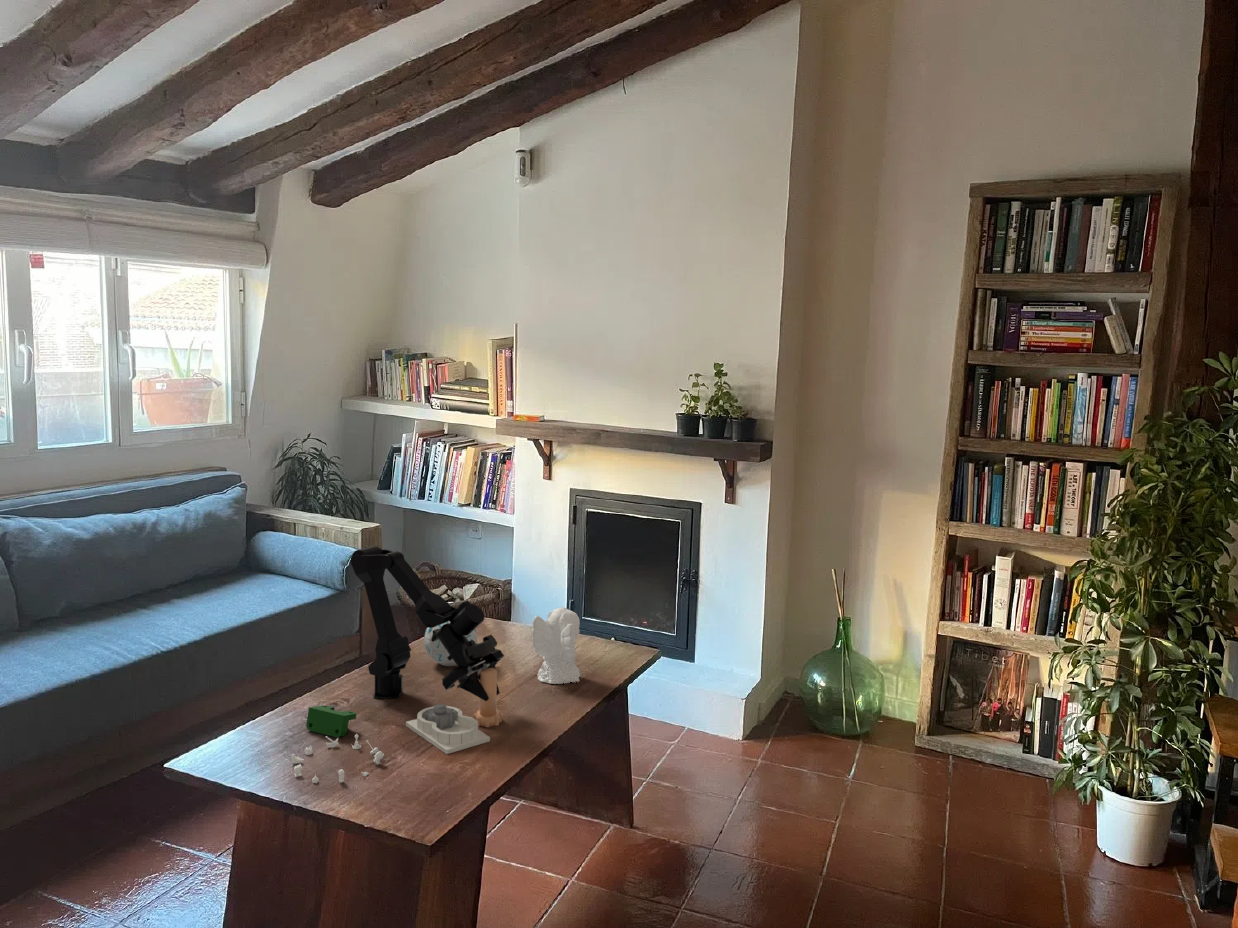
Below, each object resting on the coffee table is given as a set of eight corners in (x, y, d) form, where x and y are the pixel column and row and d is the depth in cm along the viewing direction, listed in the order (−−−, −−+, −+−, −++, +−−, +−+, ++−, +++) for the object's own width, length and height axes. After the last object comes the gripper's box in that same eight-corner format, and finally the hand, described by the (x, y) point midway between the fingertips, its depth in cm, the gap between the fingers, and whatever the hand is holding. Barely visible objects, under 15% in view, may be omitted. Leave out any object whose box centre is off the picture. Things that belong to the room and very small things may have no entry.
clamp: (347, 747, 224) (363, 716, 224) (331, 750, 219) (348, 719, 219) (316, 720, 229) (332, 690, 228) (300, 722, 224) (316, 692, 223)
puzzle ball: (451, 651, 281) (451, 603, 279) (488, 663, 272) (488, 613, 270) (412, 665, 268) (413, 614, 266) (449, 677, 260) (450, 625, 258)
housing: (405, 725, 228) (405, 703, 227) (447, 714, 235) (448, 693, 234) (446, 754, 213) (446, 730, 212) (489, 741, 221) (490, 718, 220)
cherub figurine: (591, 676, 264) (594, 607, 262) (572, 691, 253) (574, 619, 250) (549, 668, 269) (551, 600, 267) (529, 683, 258) (530, 612, 255)
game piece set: (397, 751, 214) (397, 735, 214) (354, 792, 195) (354, 774, 194) (320, 740, 219) (320, 725, 218) (270, 779, 199) (270, 762, 199)
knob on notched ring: (473, 727, 228) (474, 675, 226) (474, 715, 235) (475, 665, 233) (501, 726, 229) (502, 675, 227) (501, 715, 236) (502, 665, 234)
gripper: (452, 637, 222) (489, 691, 219) (498, 617, 239) (534, 668, 235) (426, 662, 227) (462, 716, 223) (473, 641, 243) (507, 691, 240)
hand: (492, 697), depth 230 cm, fingers closed on knob on notched ring, 4 cm apart
